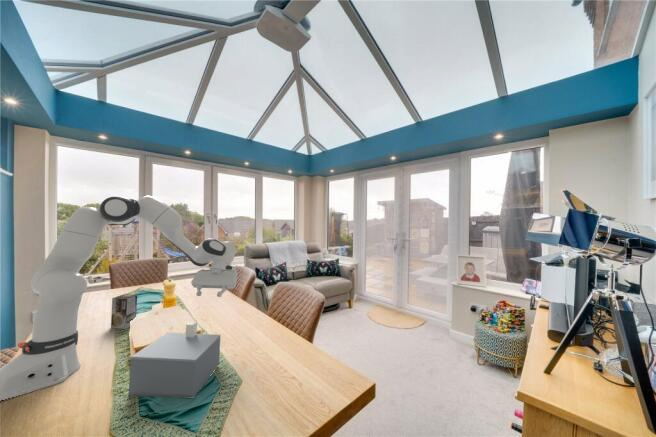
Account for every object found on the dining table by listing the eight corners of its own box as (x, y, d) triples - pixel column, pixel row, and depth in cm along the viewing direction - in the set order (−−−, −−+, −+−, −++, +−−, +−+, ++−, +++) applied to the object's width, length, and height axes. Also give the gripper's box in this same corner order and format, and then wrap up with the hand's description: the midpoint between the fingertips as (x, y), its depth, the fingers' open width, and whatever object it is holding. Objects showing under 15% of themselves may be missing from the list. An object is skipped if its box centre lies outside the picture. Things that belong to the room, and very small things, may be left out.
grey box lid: (195, 362, 80) (196, 344, 80) (130, 359, 80) (131, 341, 80) (220, 336, 98) (221, 322, 98) (167, 334, 98) (168, 320, 98)
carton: (193, 398, 79) (195, 362, 80) (128, 395, 80) (130, 359, 80) (218, 366, 97) (220, 337, 98) (165, 364, 98) (167, 334, 98)
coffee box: (136, 324, 133) (138, 295, 133) (125, 329, 126) (127, 298, 127) (121, 323, 134) (123, 294, 134) (109, 328, 127) (111, 297, 128)
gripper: (196, 265, 117) (183, 291, 107) (237, 267, 117) (228, 293, 107) (200, 272, 121) (188, 298, 111) (240, 274, 121) (232, 300, 111)
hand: (208, 295), depth 109 cm, fingers open, 8 cm apart
